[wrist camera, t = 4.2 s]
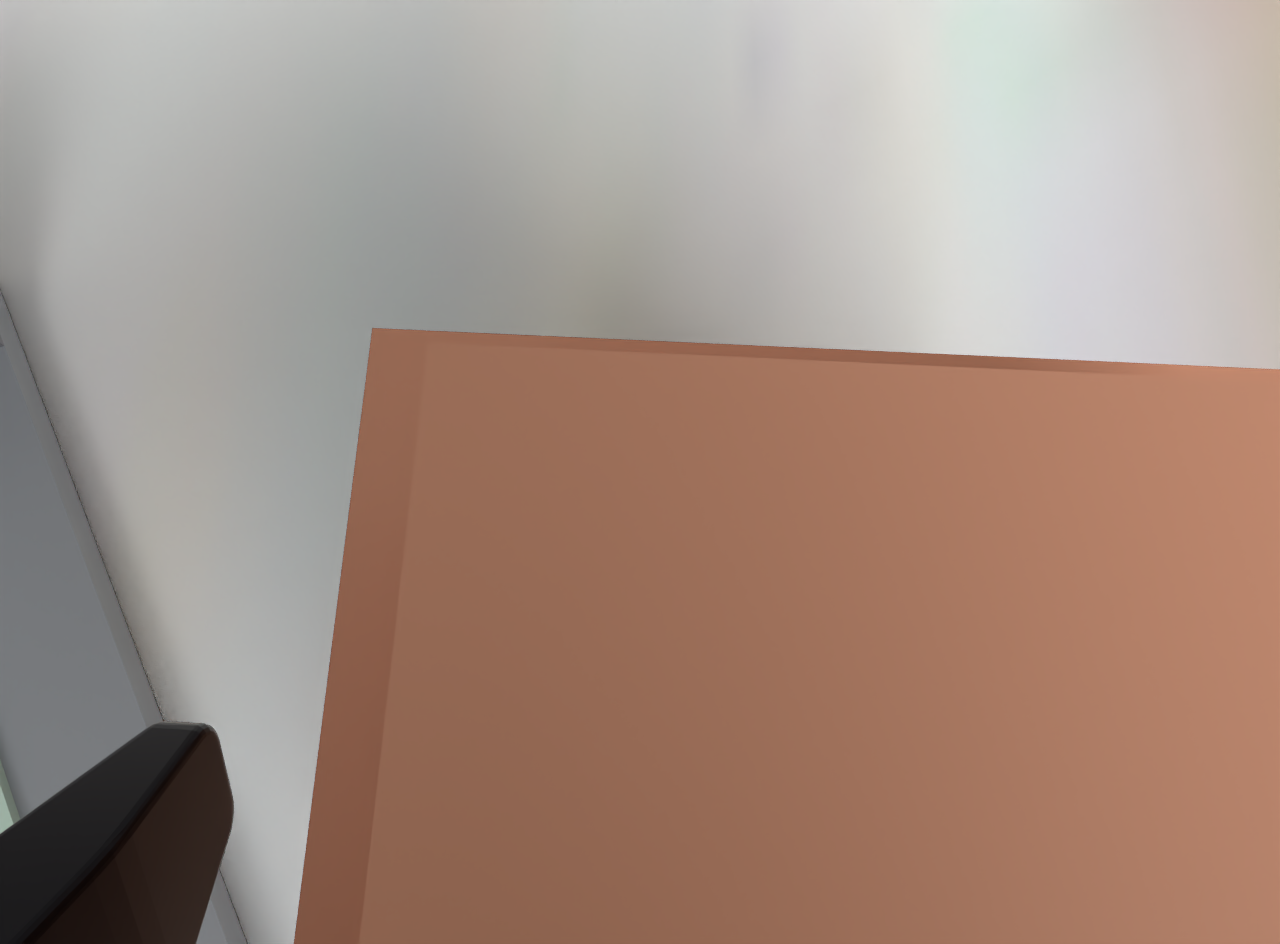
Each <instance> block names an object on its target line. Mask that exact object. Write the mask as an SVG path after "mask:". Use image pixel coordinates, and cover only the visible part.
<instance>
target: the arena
mask: <svg viewBox="0 0 1280 944" xmlns="http://www.w3.org/2000/svg"><path fill="white" fill-rule="evenodd" d="M162 721H163V719H162V716H161V714H160V711H159V709H158V706H157V703H156V701H155V698H154V695H153V693H152V690H151V687H150V685H149V682H148V679H147V677H146V674H145V671H144V669H143V666H142V664H141V661H140V658H139V656H138V653H137V650H136V648H135V645H134V642H133V640H132V637H131V634H130V632H129V629H128V626H127V624H126V621H125V619H124V616H123V613H122V611H121V608H120V605H119V603H118V600H117V597H116V595H115V592H114V589H113V587H112V584H111V581H110V579H109V576H108V574H107V571H106V568H105V566H104V563H103V560H102V558H101V555H100V552H99V550H98V547H97V544H96V542H95V539H94V536H93V534H92V531H91V529H90V526H89V523H88V521H87V518H86V515H85V513H84V510H83V507H82V505H81V502H80V499H79V497H78V494H77V491H76V489H75V486H74V483H73V481H72V478H71V476H70V473H69V470H68V468H67V465H66V462H65V460H64V457H63V454H62V452H61V449H60V446H59V444H58V441H57V438H56V436H55V433H54V431H53V428H52V425H51V423H50V420H49V417H48V415H47V412H46V409H45V407H44V404H43V401H42V399H41V396H40V393H39V391H38V388H37V386H36V383H35V380H34V378H33V375H32V372H31V370H30V367H29V364H28V362H27V359H26V356H25V354H24V351H23V348H22V346H21V343H20V341H19V338H18V335H17V333H16V330H15V327H14V325H13V322H12V319H11V317H10V314H9V311H8V309H7V306H6V303H5V301H4V298H3V296H2V293H1V290H0V833H2V832H3V831H4V830H6V829H7V828H9V827H10V826H11V825H13V824H14V823H15V822H17V821H18V820H20V819H21V818H22V817H24V816H25V815H27V814H28V813H29V812H31V811H32V810H34V809H35V808H36V807H38V806H39V805H40V804H42V803H43V802H45V801H46V800H47V799H49V798H50V797H52V796H53V795H54V794H56V793H57V792H59V791H60V790H61V789H63V788H64V787H65V786H67V785H68V784H70V783H71V782H72V781H74V780H75V779H77V778H78V777H79V776H81V775H82V774H83V773H85V772H86V771H88V770H89V769H90V768H92V767H93V766H95V765H96V764H97V763H99V762H100V761H102V760H103V759H104V758H106V757H107V756H108V755H110V754H111V753H113V752H114V751H115V750H117V749H118V748H120V747H121V746H122V745H124V744H125V743H127V742H128V741H129V740H131V739H132V738H133V737H135V736H136V735H138V734H139V733H140V732H142V731H143V730H145V729H146V728H148V727H149V726H151V725H153V724H155V723H157V722H162ZM196 944H247V942H246V939H245V936H244V934H243V931H242V928H241V926H240V923H239V920H238V918H237V915H236V912H235V910H234V907H233V904H232V902H231V899H230V897H229V894H228V891H227V889H226V886H225V883H224V881H223V878H222V875H221V873H220V870H219V872H218V875H217V878H216V881H215V885H214V888H213V891H212V894H211V898H210V901H209V904H208V907H207V911H206V914H205V917H204V921H203V924H202V927H201V930H200V934H199V937H198V940H197V943H196Z"/></svg>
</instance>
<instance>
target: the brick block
mask: <svg viewBox="0 0 1280 944" xmlns="http://www.w3.org/2000/svg"><path fill="white" fill-rule="evenodd" d="M294 944H1280V370H1278V369H1257V368H1235V367H1213V366H1191V365H1169V364H1147V363H1125V362H1103V361H1081V360H1060V359H1038V358H1016V357H994V356H972V355H950V354H928V353H906V352H884V351H863V350H841V349H819V348H797V347H775V346H753V345H731V344H709V343H687V342H666V341H644V340H622V339H600V338H578V337H556V336H534V335H512V334H490V333H468V332H447V331H425V330H403V329H381V328H372V335H371V343H370V351H369V359H368V366H367V374H366V382H365V390H364V398H363V406H362V414H361V421H360V429H359V437H358V445H357V453H356V461H355V468H354V476H353V484H352V492H351V500H350V508H349V516H348V523H347V531H346V539H345V547H344V555H343V563H342V570H341V578H340V586H339V594H338V602H337V610H336V618H335V625H334V633H333V641H332V649H331V657H330V665H329V672H328V680H327V688H326V696H325V704H324V712H323V719H322V727H321V735H320V743H319V751H318V759H317V767H316V774H315V782H314V790H313V798H312V806H311V814H310V821H309V829H308V837H307V845H306V853H305V861H304V869H303V876H302V884H301V892H300V900H299V908H298V916H297V923H296V931H295V939H294Z"/></svg>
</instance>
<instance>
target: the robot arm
mask: <svg viewBox="0 0 1280 944" xmlns="http://www.w3.org/2000/svg"><path fill="white" fill-rule="evenodd" d="M233 814H234V802H233V796H232V791H231V787H230V783H229V779H228V775H227V770H226V766H225V762H224V758H223V754H222V749H221V745H220V741H219V738H218V735H217V733H216V731H215V730H214V729H213V728H212V727H211V726H210V725H206V724H204V723H189V722H173V721H162V722H157V723H155V724H153V725H151V726H149V727H148V728H146V729H145V730H143V731H142V732H140V733H139V734H138V735H136V736H135V737H133V738H132V739H131V740H129V741H128V742H127V743H125V744H124V745H122V746H121V747H120V748H118V749H117V750H115V751H114V752H113V753H111V754H110V755H108V756H107V757H106V758H104V759H103V760H102V761H100V762H99V763H97V764H96V765H95V766H93V767H92V768H90V769H89V770H88V771H86V772H85V773H83V774H82V775H81V776H79V777H78V778H77V779H75V780H74V781H72V782H71V783H70V784H68V785H67V786H65V787H64V788H63V789H61V790H60V791H59V792H57V793H56V794H54V795H53V796H52V797H50V798H49V799H47V800H46V801H45V802H43V803H42V804H40V805H39V806H38V807H36V808H35V809H34V810H32V811H31V812H29V813H28V814H27V815H25V816H24V817H22V818H21V819H20V820H18V821H17V822H15V823H14V824H13V825H11V826H10V827H9V828H7V829H6V830H4V831H3V832H2V833H0V944H196V943H197V940H198V937H199V934H200V930H201V927H202V924H203V921H204V917H205V914H206V911H207V907H208V904H209V901H210V898H211V894H212V891H213V888H214V885H215V881H216V878H217V875H218V872H219V868H220V865H221V862H222V858H223V855H224V852H225V849H226V845H227V842H228V839H229V836H230V832H231V828H232V823H233Z"/></svg>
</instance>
